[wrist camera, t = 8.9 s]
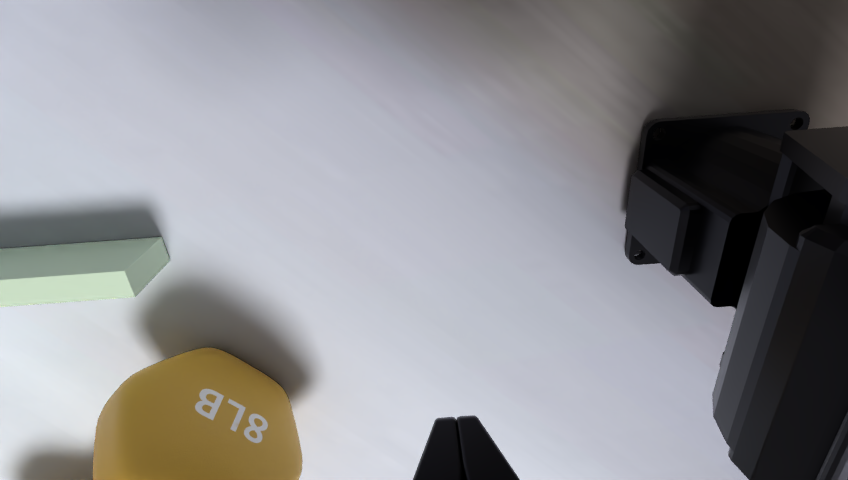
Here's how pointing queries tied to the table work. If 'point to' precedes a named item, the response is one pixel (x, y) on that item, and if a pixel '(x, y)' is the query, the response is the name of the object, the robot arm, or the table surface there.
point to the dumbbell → (197, 423)
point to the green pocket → (79, 271)
